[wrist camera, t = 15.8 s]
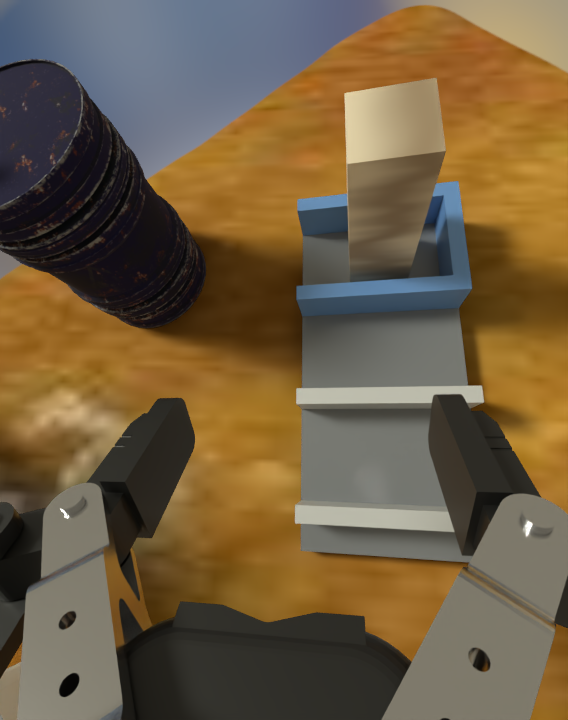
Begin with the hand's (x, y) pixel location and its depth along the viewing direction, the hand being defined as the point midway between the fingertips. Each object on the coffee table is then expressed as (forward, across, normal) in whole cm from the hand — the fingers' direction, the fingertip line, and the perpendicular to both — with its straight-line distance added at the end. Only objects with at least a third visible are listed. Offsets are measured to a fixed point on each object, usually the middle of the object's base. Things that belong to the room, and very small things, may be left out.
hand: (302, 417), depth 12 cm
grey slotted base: (+14, -4, +6) cm, 16 cm away
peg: (+18, -4, 0) cm, 19 cm away
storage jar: (+21, +15, +1) cm, 26 cm away
